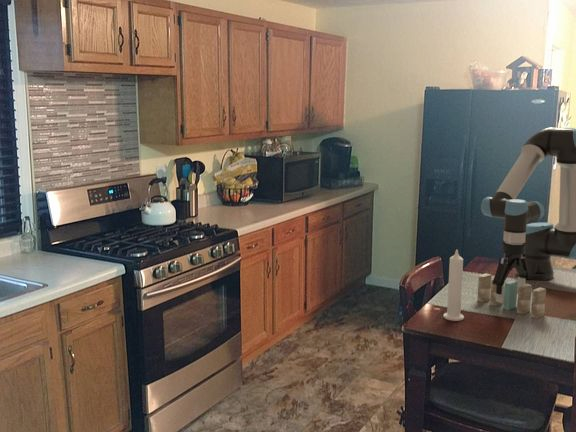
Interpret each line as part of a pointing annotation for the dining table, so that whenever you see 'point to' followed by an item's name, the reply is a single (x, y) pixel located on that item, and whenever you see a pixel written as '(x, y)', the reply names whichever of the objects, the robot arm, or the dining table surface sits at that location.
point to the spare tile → (510, 295)
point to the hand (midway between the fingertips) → (510, 298)
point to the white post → (455, 288)
